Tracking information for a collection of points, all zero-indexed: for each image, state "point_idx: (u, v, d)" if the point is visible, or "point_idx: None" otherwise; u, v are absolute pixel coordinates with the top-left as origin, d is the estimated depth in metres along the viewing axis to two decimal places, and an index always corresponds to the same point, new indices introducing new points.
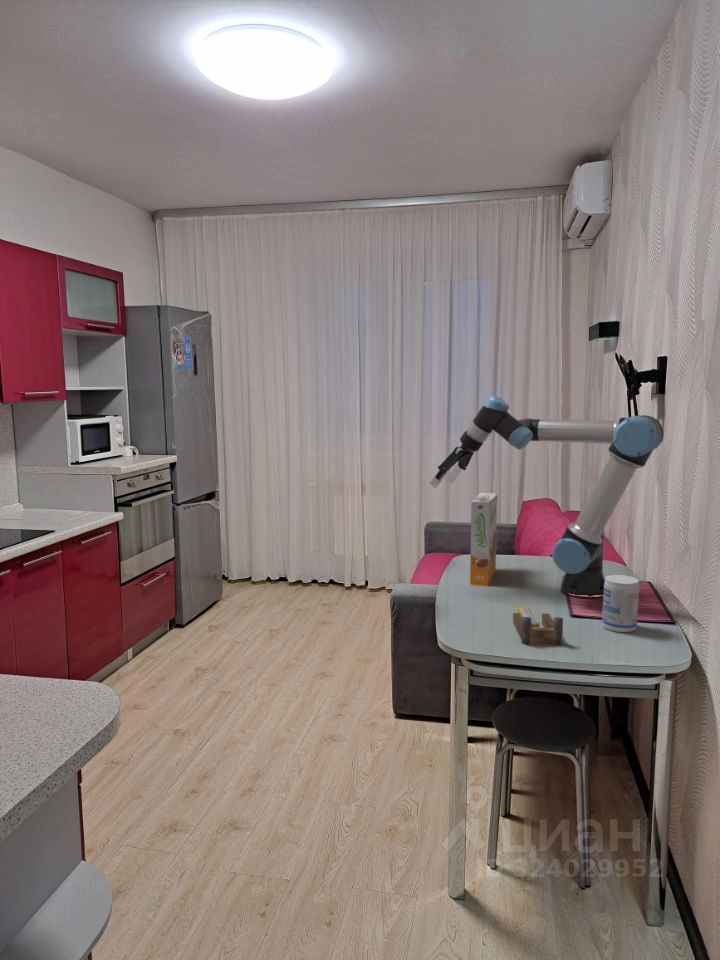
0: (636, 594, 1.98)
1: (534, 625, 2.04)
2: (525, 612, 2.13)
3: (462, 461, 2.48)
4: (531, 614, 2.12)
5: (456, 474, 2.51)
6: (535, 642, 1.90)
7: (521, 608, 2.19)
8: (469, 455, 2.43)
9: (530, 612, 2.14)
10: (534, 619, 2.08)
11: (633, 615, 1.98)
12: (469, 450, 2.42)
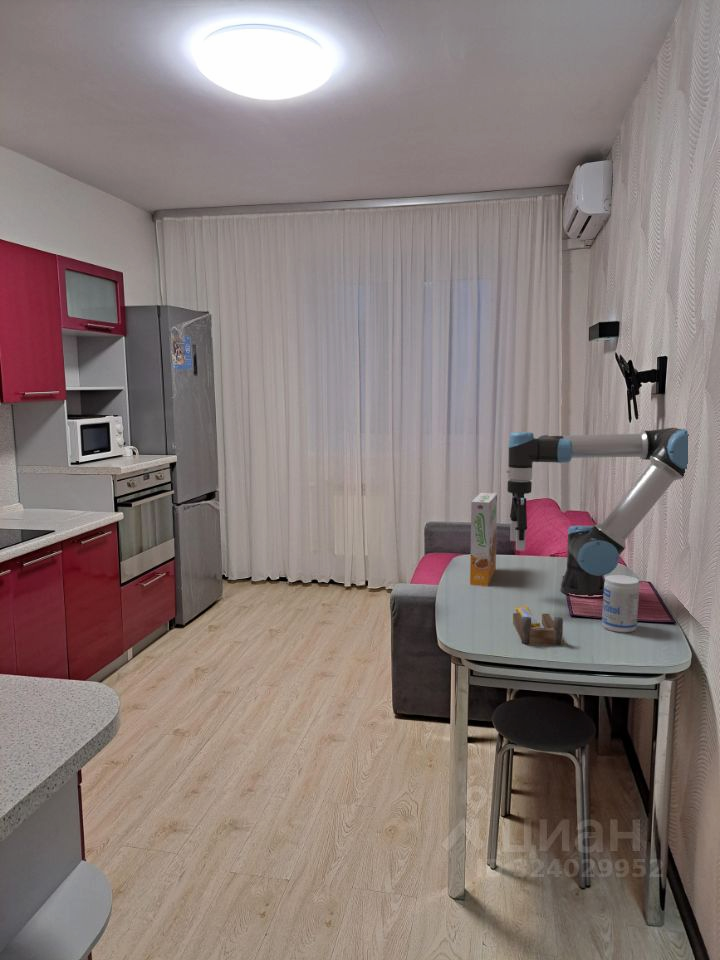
0: (636, 594, 1.98)
1: (535, 625, 2.04)
2: (524, 612, 2.13)
3: None
4: (530, 614, 2.12)
5: None
6: (535, 642, 1.90)
7: (520, 608, 2.19)
8: None
9: (529, 612, 2.14)
10: (534, 619, 2.08)
11: (633, 615, 1.98)
12: None
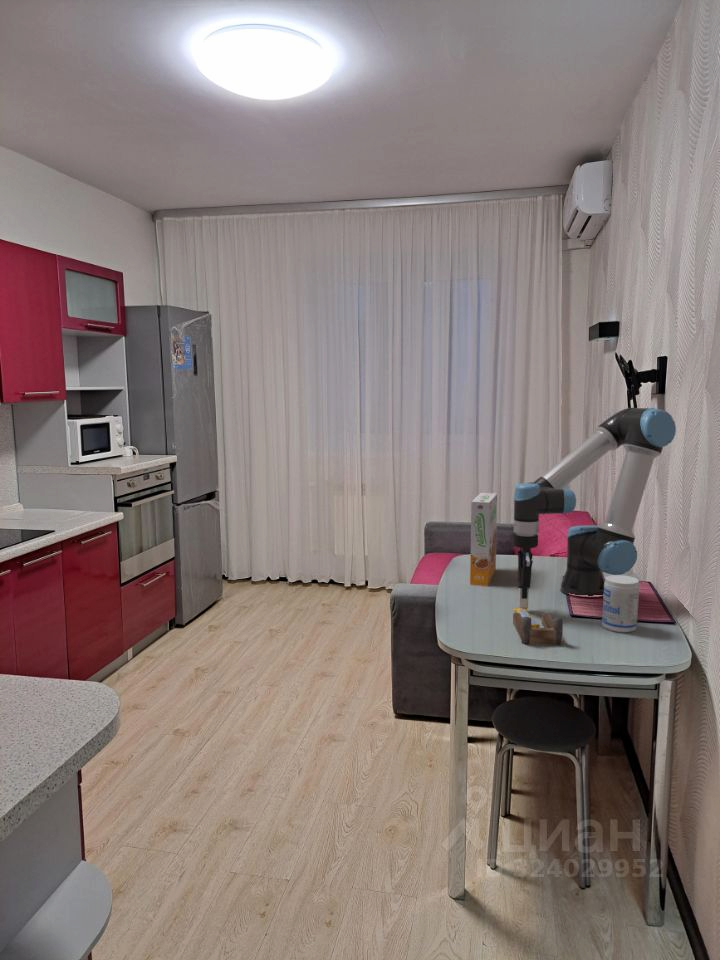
0: (636, 594, 1.98)
1: (534, 626, 2.02)
2: (523, 613, 2.11)
3: None
4: (529, 615, 2.10)
5: None
6: (535, 642, 1.90)
7: (518, 609, 2.17)
8: None
9: (528, 613, 2.12)
10: (533, 620, 2.05)
11: (633, 615, 1.98)
12: None
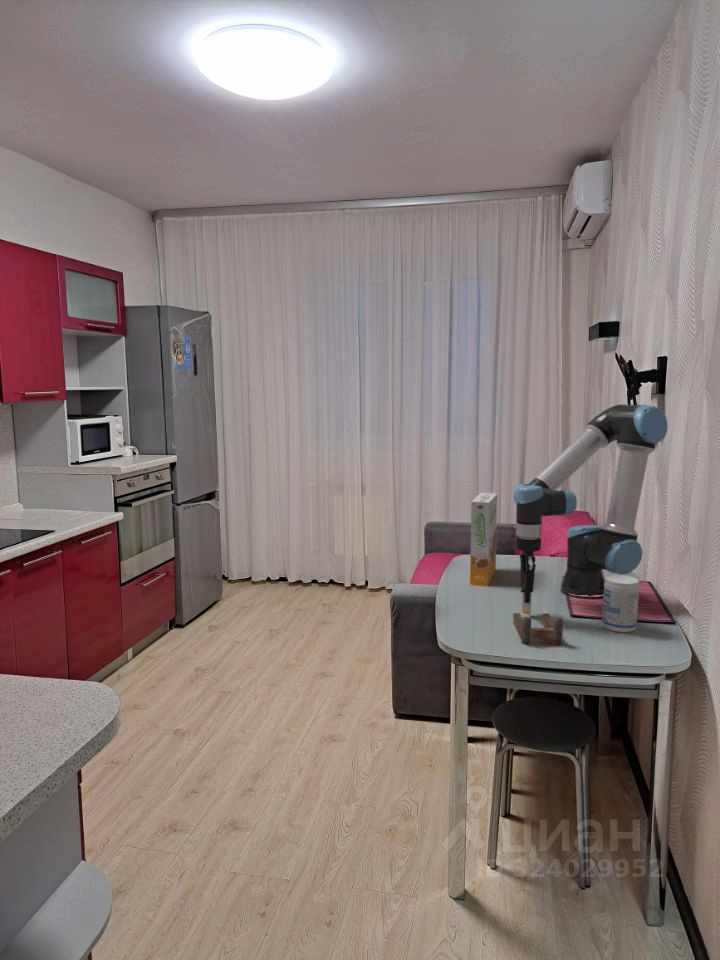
0: (636, 594, 1.98)
1: None
2: None
3: None
4: (532, 620, 2.06)
5: None
6: (535, 642, 1.90)
7: None
8: None
9: None
10: None
11: (633, 615, 1.98)
12: None
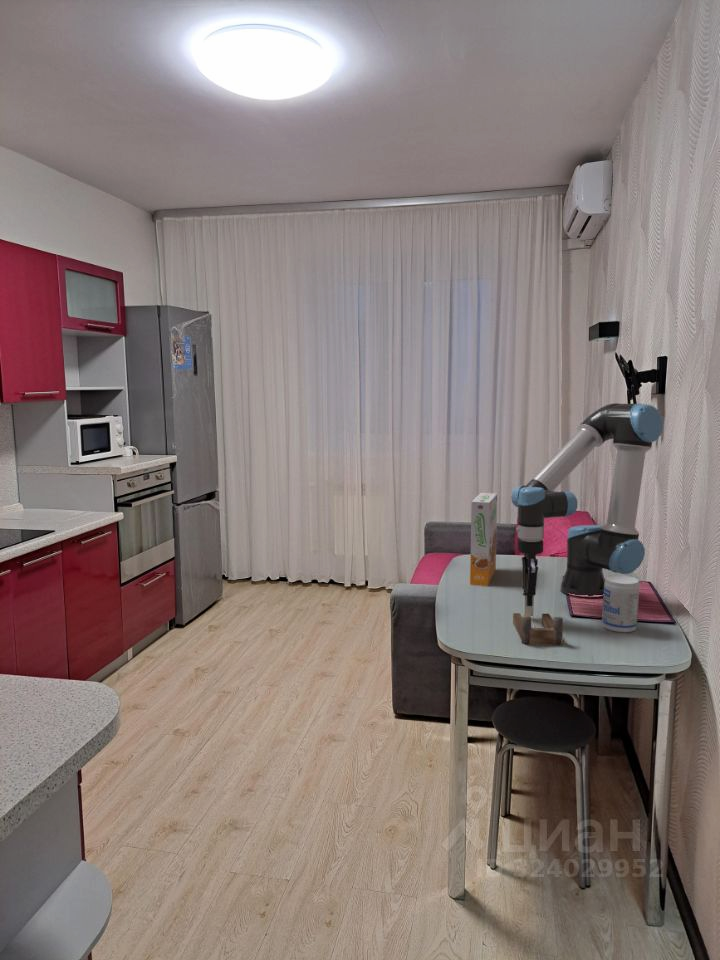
0: (636, 594, 1.98)
1: None
2: None
3: None
4: None
5: None
6: (535, 642, 1.90)
7: None
8: None
9: (532, 622, 2.05)
10: None
11: (633, 615, 1.98)
12: None
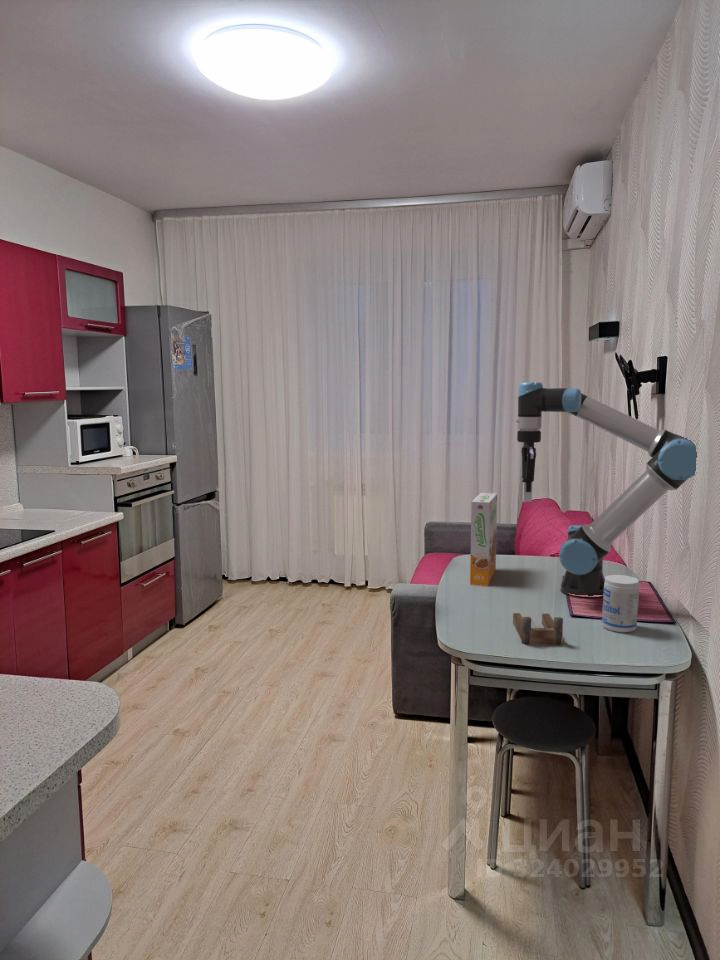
0: (636, 594, 1.98)
1: None
2: None
3: None
4: (534, 624, 2.03)
5: None
6: (535, 642, 1.90)
7: None
8: None
9: None
10: None
11: (633, 615, 1.98)
12: None
